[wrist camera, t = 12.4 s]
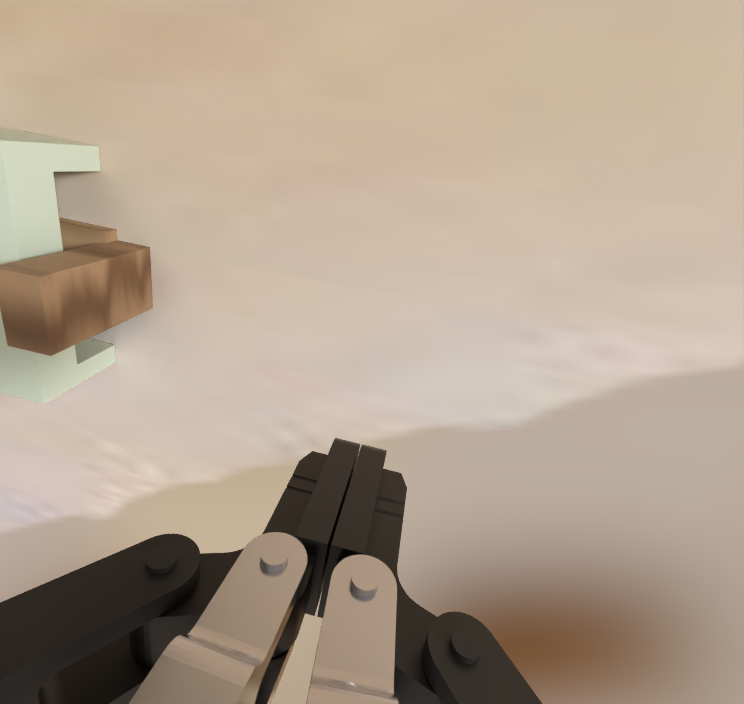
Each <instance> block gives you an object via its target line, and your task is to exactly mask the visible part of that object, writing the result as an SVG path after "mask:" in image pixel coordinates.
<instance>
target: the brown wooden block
mask: <svg viewBox="0 0 744 704" xmlns="http://www.w3.org/2000/svg"><path fill="white" fill-rule="evenodd" d="M59 222H60V230H61V238H62V246H63V251H62V252H57V253H52V254H48V255H43V256H39V257H34V258H29V259H25V260H20V261H16V262H11V263H6V264H2V265H0V311H1V316H2V320H3V325H4V330H5V335H6V340H7V345H8V346H10V347H15V348H19V349H23V350H27V351H31V352H36V353H40V354H44V355H48V356H52V355H54V354H56V353H59V352H61V351H63V350H65V349H67V348H69V347H71V346H73V345H75V344H78V343H80V342H82V341H84V340H86V339H88V338H90V337H92V336H94V335H96V334H99V333H101V332H103V331H105V330H107V329H109V328H111V327H113V326H115V325H117V324H120V323H122V322H124V321H126V320H128V319H130V318H132V317H134V316H136V315H139V314H141V313H143V312H145V311H147V310H149V309H151V308H153V305H152V284H151V263H150V247H146V246H141V245H136V244H132V243H127V242H122V241H118V240H117V230H116V229H111V228H106V227H102V226H97V225H92V224H87V223H83V222H78V221H73V220H68V219H64V218H59Z"/></svg>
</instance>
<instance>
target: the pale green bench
mask: <svg viewBox="0 0 744 704" xmlns="http://www.w3.org/2000/svg"><path fill="white" fill-rule="evenodd" d="M67 171H100V159H99V147H98V146H94V145H89V144H84V143H79V142H74V141H70V140H65V139H60V138H55V137H50V136H45V135H40V134H35V133H30V132H25V131H21V130H16V129H7V128H0V265H2V264H6V263H11V262H16V261H20V260H25V259H29V258H34V257H39V256H43V255H48V254H52V253H57V252H62V251H63V246H62V238H61V230H60V222H59V214H58V206H57V198H56V190H55V182H54V174H53V172H67ZM115 362H116V354H115V345H113V344H109V343H105V342H101V341H97V340H92V339H86V340H84V341H82V342H80V343H78V344H75V345H73V346H71V347H69V348H67V349H65V350H63V351H61V352H59V353H56V354H54V355H52V356H48V355H44V354H40V353H36V352H31V351H27V350H23V349H19V348H15V347H10V346H8V345H7V340H6V335H5V330H4V325H3V320H2V316H1V311H0V393H3V394H7V395H11V396H14V397H18V398H22V399H26V400H30V401H34V402H38V403H42V404H45V403H47V402H48V401H50V400H52V399H54V398H55V397H57V396H59V395H60V394H62V393H64V392H65V391H67V390H69V389H71V388H72V387H74V386H76V385H77V384H79V383H81V382H83V381H84V380H86V379H88V378H89V377H91V376H93V375H94V374H96V373H98V372H100V371H101V370H103V369H105V368H106V367H108V366H110V365H112V364H113V363H115Z"/></svg>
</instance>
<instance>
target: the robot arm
mask: <svg viewBox="0 0 744 704" xmlns="http://www.w3.org/2000/svg"><path fill="white" fill-rule="evenodd" d="M359 448H360V444H358V443H354V442H350V441H346V440H342V439H338V438H335V439H334V442H333V444H332V446H331V449H330V451H329V454H328V455H326V454H322V453H318V452H314V451H312V452H311V453H309V454H308V455H307V456H305V457H304V458H303V459H301V460H300V461H299V463H298V465H297V467H296V469H295V471H294V473H293V476H292V478H291V479H290V481H289V483H288V485H287V488H286V489H285V491H284V493H283V495H282V497H281V499H280V501H279V503H278V505H277V507H276V509H275V511H274V513H273V515H272V517H271V519H270V521H269V523H268V525H267V527H266V529H265V531H264V532H263V534H262V535H260V536H258V537H256V538H254V539H253V540H251V541H250V542H249V543H248V544H247V545H246V547H245V548H244V549H241V550H238V551H234V552H229V553H208V554H207V553H206V554H200V551H199V548H198V546H197V545H196V543H195V542H194V541H193V540H191V539H190V538H188V537H186V536H183V535H179V534H163V535H159V536H155V537H153V538H150V539H148V540H145V541H143V542H141V543H138V544H136V545H134V546H132V547H129V548H127V549H124V550H122V551H120V552H117V553H115V554H113V555H111V556H108V557H106V558H103V559H101V560H99V561H96V562H94V563H92V564H89V565H87V566H85V567H82V568H80V569H78V570H75V571H73V572H71V573H68V574H66V575H64V576H61V577H59V578H57V579H54V580H52V581H50V582H47V583H45V584H43V585H40V586H38V587H36V588H33V589H31V590H29V591H26V592H24V593H22V594H19V595H17V596H15V597H12V598H10V599H8V600H6V601H3V602H1V603H0V704H271V702H272V700H273V697H274V695H275V692H276V690H277V687H278V685H279V682H280V680H281V677H282V675H283V672H284V670H285V667H286V665H287V662H288V660H289V657H290V655H291V652H292V649H293V646H294V642H295V640H296V638H297V636H298V633H299V630H300V627H301V623H302V621H303V618H304V614H305V613H306V614H310V615H313V616H314V615H315V612H316V609H317V606H318V602H319V599H320V595H321V592H322V595H321V600H320V605H319V610H318V617H321V618H323V621H322V627H321V631H320V636H319V641H318V646H317V651H316V656H315V661H314V666H313V671H312V676H311V681H310V686H309V692H308V697H307V702H306V704H542V703H541V701H540V700H539V698H538V697H537V696H536V694H535V693H534V692H533V690H532V689H531V688H530V686H529V685H528V683H527V682H526V681H525V679H524V678H523V676H522V675H521V674H520V672H519V671H518V670H517V668H516V667H515V665H514V664H513V663H512V661H511V660H510V659H509V657H508V656H507V654H506V653H505V652H504V650H503V649H502V647H501V646H500V645H499V643H498V642H497V641H496V639H495V638H494V636H493V635H492V634H491V633H490V631H489V630H488V629H487V628H486V627H485V626H484V625H483V624H482V623H481V622H480V621H478V620H477V619H475V618H474V617H472V616H470V615H467V614H465V613H461V612H447V613H444V614H442V615H440V616H438V617H436V616H435V615H433V614H432V613H430V612H428V611H427V610H425V609H424V608H422V607H421V606H419V605H418V604H416V603H415V602H414V601H413V600H412V599H410V598H409V596H408V595H407V594H406V593H405V591H404V589H403V588H402V586H401V584H400V582H399V579H398V575H397V562H398V555H399V547H400V539H401V530H402V523H403V515H404V507H405V506H404V505H405V499H406V491H407V487H406V485H405V482H404V479H403V477H402V474H401V473H398V472H394V471H390V470H386V469H383V466H384V461H385V456H386V450H382V449H378V448H374V447H370V446H366V445H362V446H361V449H360V452H359ZM358 453H359V456H358ZM357 458H358V459H357Z"/></svg>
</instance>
